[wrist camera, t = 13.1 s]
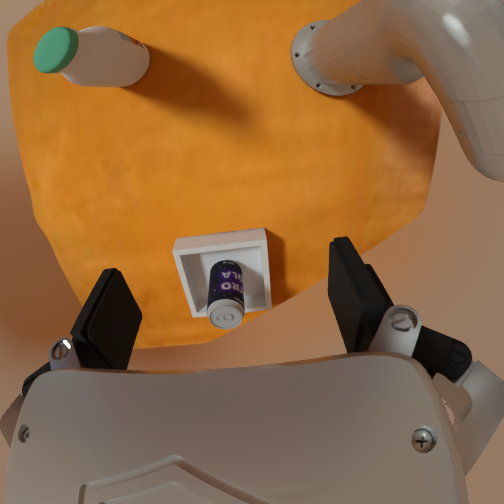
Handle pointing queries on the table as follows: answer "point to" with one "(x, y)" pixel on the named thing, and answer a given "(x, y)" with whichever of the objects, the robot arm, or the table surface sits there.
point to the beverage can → (225, 295)
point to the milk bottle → (92, 56)
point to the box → (217, 249)
